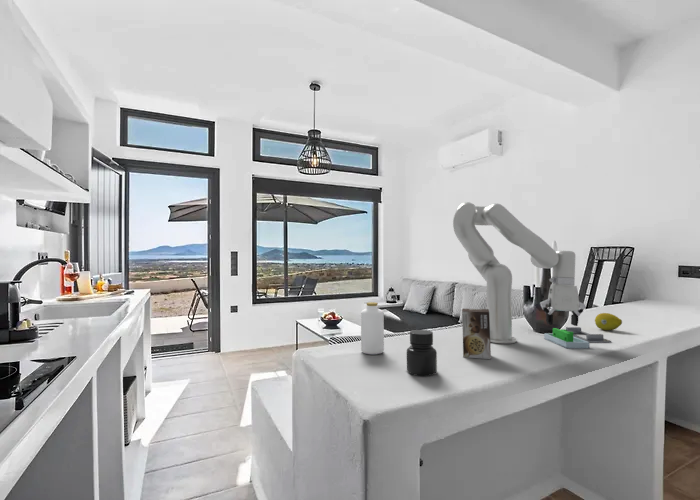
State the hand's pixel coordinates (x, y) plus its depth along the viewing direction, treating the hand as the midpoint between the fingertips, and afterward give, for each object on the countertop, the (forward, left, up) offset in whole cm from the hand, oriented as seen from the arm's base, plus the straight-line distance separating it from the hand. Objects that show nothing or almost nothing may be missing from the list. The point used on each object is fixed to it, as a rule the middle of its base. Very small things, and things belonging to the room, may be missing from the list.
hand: (561, 324), depth 140 cm
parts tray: (+1, 0, -7) cm, 7 cm away
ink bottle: (-62, -35, -8) cm, 72 cm away
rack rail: (+15, +11, -7) cm, 20 cm away
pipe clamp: (+1, 0, -7) cm, 7 cm away
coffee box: (-40, -18, -8) cm, 44 cm away
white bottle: (-76, -13, -8) cm, 77 cm away
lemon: (+34, +24, -8) cm, 42 cm away
